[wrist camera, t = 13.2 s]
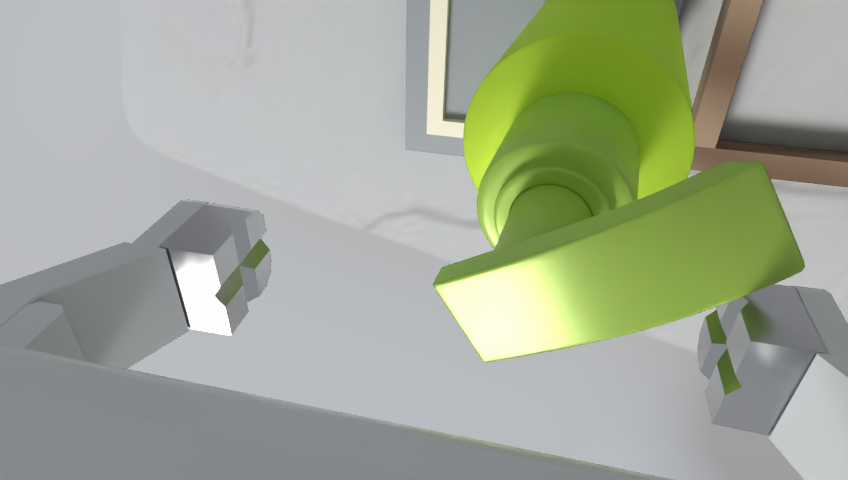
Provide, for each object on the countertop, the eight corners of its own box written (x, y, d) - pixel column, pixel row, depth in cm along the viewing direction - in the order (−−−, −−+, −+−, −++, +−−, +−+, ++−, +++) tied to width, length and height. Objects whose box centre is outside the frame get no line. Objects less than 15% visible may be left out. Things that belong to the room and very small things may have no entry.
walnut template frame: (754, -107, 23) (762, -106, 22) (1060, -96, 21) (1084, -94, 20) (677, 158, 29) (681, 168, 28) (909, 183, 27) (922, 195, 26)
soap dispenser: (725, 50, 24) (859, 396, 8) (573, 120, 28) (464, 456, 12) (670, -85, 23) (708, 30, 7) (515, 8, 26) (298, 228, 10)
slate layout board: (413, -141, 25) (405, -141, 24) (711, -132, 23) (718, -132, 22) (410, 142, 32) (403, 152, 31) (637, 168, 30) (639, 180, 29)
